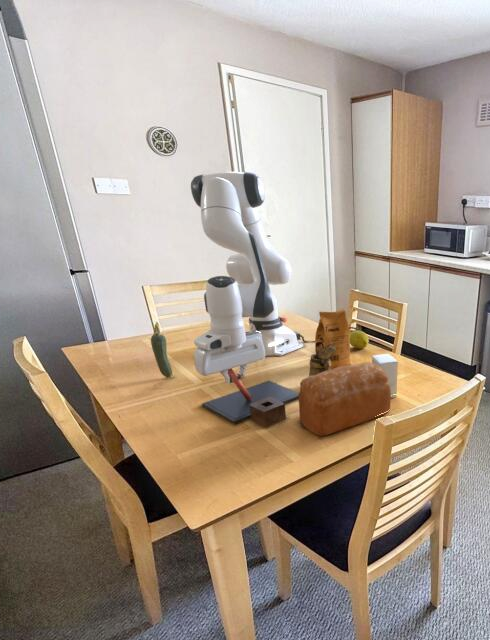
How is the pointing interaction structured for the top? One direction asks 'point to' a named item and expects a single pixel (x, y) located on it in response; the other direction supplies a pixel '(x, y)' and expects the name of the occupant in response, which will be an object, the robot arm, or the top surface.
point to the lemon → (358, 339)
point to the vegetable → (161, 352)
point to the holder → (267, 411)
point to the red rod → (239, 384)
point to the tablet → (238, 407)
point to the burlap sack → (321, 360)
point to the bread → (343, 397)
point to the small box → (388, 370)
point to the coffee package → (334, 336)
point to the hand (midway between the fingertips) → (235, 380)
